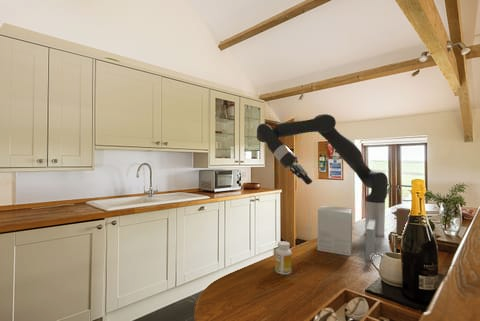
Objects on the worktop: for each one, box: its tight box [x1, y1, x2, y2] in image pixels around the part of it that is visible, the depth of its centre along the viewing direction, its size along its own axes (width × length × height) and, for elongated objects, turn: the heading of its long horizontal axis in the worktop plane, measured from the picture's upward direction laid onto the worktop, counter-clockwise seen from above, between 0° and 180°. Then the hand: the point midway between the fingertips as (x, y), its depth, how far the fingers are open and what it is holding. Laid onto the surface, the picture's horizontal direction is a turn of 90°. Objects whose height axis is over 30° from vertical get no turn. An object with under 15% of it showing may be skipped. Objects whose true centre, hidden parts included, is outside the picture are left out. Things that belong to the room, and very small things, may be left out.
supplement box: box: [316, 205, 353, 257], centre depth 111 cm, size 13×13×18 cm
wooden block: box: [395, 207, 411, 235], centre depth 110 cm, size 9×4×18 cm, turn 40°
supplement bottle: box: [274, 240, 293, 276], centre depth 87 cm, size 5×5×10 cm
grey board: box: [365, 218, 376, 261], centre depth 108 cm, size 22×2×12 cm, turn 150°
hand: (309, 183), depth 117 cm, fingers open, 2 cm apart
